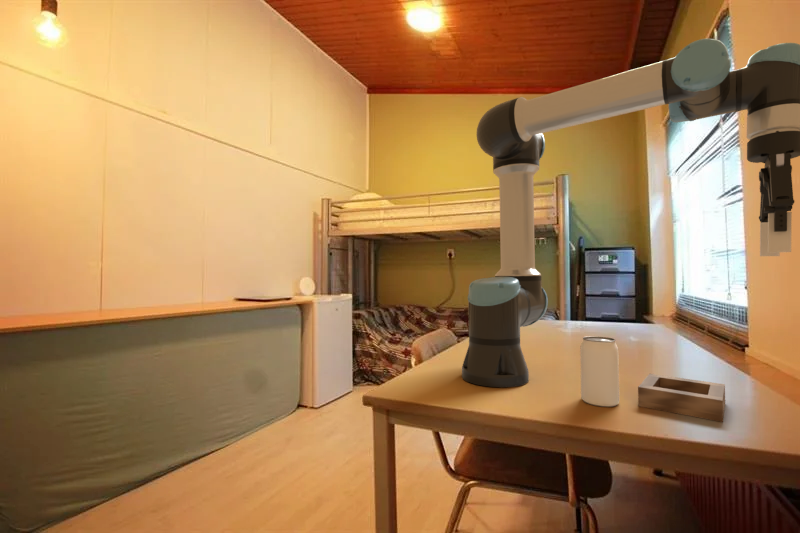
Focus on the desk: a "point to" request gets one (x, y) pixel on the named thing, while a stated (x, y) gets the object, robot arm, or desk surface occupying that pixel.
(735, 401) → the desk surface
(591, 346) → the can
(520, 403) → the desk surface
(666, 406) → the holder
